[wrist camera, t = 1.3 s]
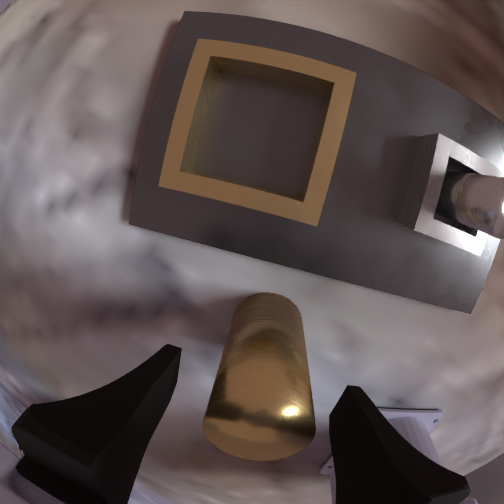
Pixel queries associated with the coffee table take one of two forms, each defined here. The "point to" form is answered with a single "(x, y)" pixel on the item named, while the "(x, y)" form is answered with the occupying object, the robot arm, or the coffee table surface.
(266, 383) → the brass fitting
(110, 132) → the coffee table surface
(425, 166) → the plate
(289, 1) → the coffee table surface
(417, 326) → the coffee table surface
